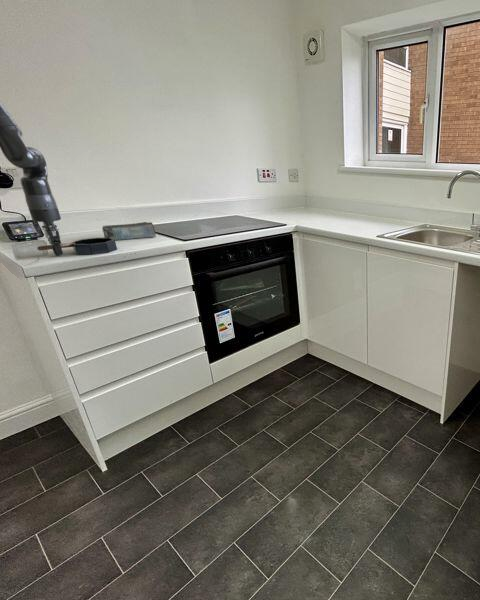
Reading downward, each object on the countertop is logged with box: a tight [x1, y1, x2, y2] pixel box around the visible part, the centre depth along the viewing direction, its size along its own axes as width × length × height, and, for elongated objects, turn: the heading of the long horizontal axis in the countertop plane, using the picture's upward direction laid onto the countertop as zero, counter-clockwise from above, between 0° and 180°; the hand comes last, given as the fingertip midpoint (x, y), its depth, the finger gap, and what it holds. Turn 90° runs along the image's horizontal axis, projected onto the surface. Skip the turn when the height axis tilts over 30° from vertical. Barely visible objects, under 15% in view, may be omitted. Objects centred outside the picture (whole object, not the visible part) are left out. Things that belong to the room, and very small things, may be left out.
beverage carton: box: [102, 221, 156, 241], centre depth 162 cm, size 8×19×7 cm, turn 127°
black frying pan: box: [36, 237, 118, 256], centre depth 135 cm, size 22×13×4 cm, turn 140°
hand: (58, 254), depth 131 cm, fingers closed on black frying pan
